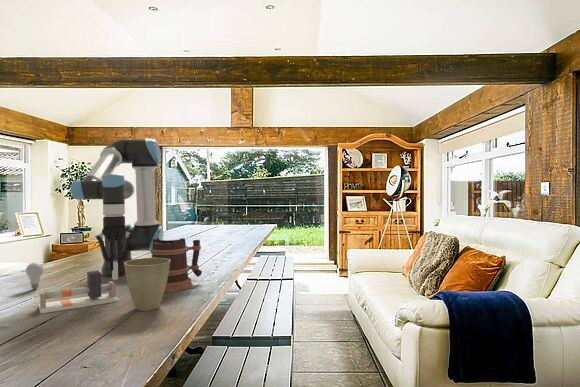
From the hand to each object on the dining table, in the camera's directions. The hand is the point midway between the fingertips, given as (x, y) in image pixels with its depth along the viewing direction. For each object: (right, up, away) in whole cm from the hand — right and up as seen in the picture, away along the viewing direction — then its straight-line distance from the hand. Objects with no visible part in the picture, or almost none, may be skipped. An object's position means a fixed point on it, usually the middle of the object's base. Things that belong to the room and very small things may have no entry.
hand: (115, 278), depth 151 cm
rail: (-10, -7, -7) cm, 14 cm away
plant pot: (+17, -7, -13) cm, 22 cm away
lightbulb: (-39, -8, +15) cm, 43 cm away
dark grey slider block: (-6, -5, -4) cm, 9 cm away
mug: (+17, -7, +18) cm, 26 cm away
